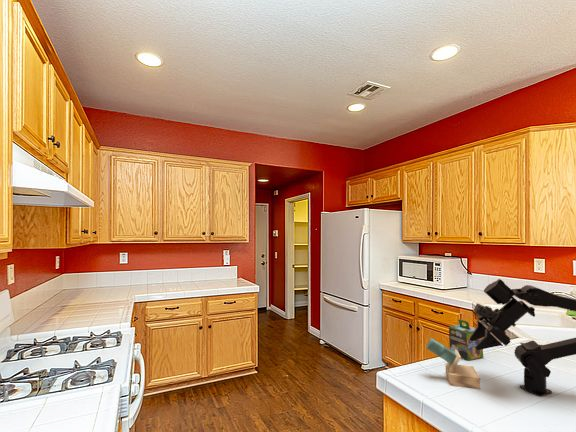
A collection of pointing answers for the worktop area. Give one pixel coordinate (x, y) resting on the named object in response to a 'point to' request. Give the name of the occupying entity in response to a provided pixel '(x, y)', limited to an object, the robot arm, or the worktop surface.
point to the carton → (463, 376)
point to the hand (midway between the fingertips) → (473, 344)
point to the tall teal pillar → (444, 353)
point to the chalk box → (464, 341)
